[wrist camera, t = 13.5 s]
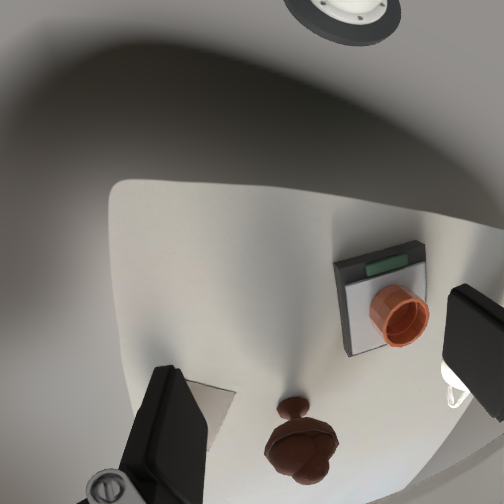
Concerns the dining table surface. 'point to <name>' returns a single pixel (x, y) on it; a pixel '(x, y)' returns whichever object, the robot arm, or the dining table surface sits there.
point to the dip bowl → (398, 315)
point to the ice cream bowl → (301, 444)
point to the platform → (212, 406)
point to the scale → (375, 289)
